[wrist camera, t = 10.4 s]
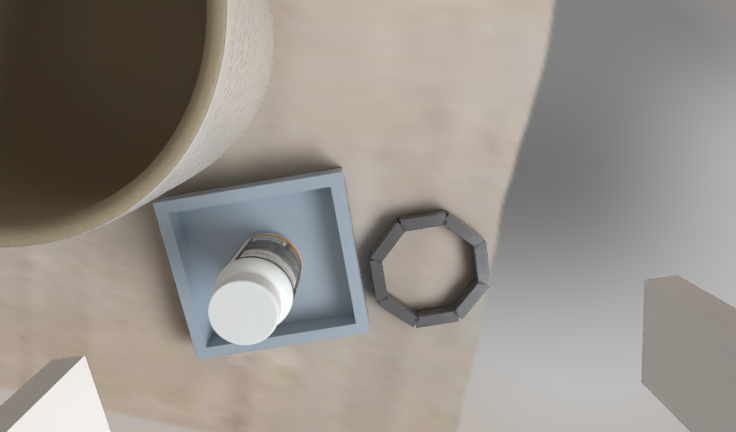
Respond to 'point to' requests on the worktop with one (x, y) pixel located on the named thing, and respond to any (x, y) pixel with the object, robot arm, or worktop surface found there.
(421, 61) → the worktop surface
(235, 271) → the pill bottle
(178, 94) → the planter
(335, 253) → the tray
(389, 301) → the ring
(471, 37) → the worktop surface
